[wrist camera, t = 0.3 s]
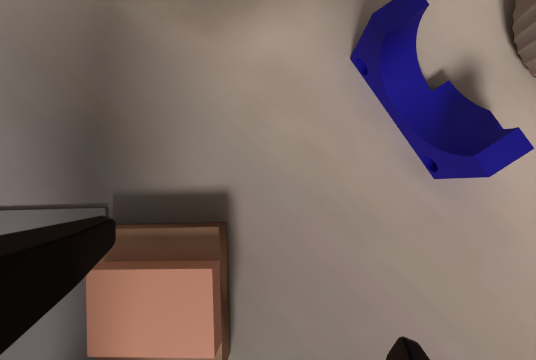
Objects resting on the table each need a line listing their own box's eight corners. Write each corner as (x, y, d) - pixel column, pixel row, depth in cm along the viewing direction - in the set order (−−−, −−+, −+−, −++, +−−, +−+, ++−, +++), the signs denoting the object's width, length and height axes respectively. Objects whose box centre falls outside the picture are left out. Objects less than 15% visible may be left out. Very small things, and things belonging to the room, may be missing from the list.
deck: (229, 353, 22) (222, 374, 20) (115, 351, 23) (95, 372, 20) (226, 222, 22) (218, 226, 20) (113, 224, 23) (92, 229, 21)
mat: (110, 369, 23) (108, 371, 23) (-8, 367, 24) (-11, 369, 23) (107, 207, 23) (105, 207, 23) (-9, 210, 24) (-13, 210, 24)
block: (219, 260, 20) (212, 268, 18) (221, 340, 20) (214, 358, 18) (105, 261, 21) (85, 270, 19) (106, 339, 20) (87, 356, 18)
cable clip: (481, 148, 21) (557, 134, 15) (433, 179, 22) (489, 177, 16) (395, 28, 22) (436, -30, 16) (349, 59, 22) (372, 13, 16)
